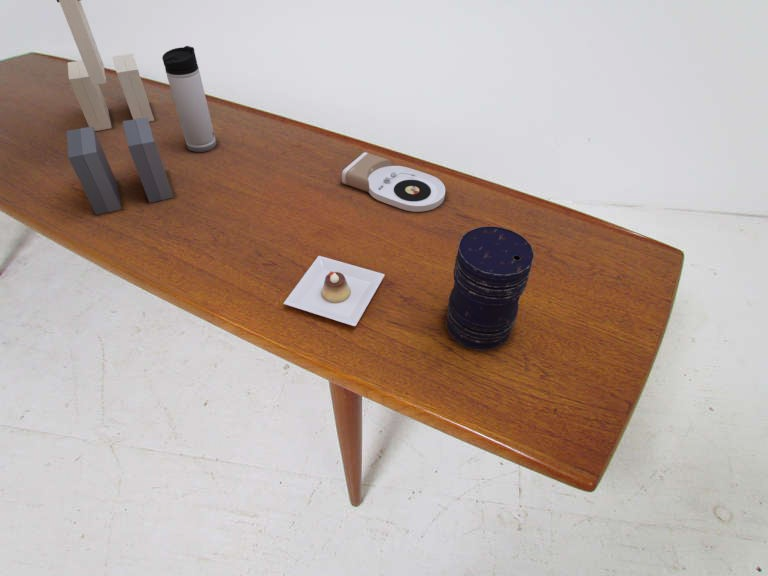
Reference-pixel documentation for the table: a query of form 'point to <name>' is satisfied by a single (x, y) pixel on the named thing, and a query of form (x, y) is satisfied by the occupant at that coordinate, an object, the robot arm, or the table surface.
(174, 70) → the travel mug
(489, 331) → the dark blue barrel
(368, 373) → the table surface
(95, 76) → the cream book
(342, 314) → the dessert
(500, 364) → the table surface
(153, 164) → the grey books
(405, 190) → the record player
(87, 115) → the white books
